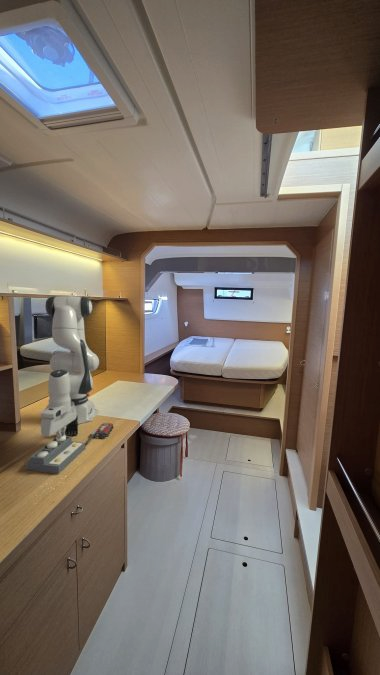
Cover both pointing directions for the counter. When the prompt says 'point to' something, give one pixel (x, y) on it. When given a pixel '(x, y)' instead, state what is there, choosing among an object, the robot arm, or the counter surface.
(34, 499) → the counter surface
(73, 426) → the battery charger
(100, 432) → the walkie-talkie
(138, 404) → the counter surface
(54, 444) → the middle button
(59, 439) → the button
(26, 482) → the counter surface
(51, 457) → the pattern board
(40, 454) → the button
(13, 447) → the counter surface
